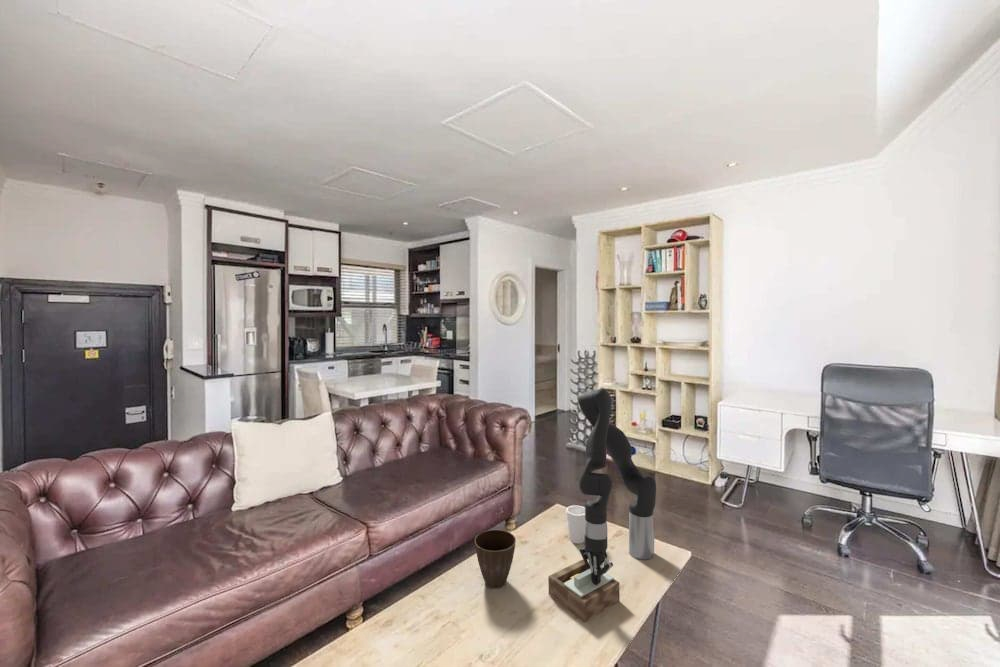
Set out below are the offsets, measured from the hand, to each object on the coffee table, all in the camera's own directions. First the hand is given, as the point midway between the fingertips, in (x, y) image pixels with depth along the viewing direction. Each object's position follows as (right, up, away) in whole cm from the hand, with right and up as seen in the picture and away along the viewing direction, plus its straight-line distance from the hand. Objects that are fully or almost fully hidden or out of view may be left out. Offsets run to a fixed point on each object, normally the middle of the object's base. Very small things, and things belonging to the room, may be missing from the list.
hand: (596, 583), depth 144 cm
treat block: (-5, -7, +7) cm, 11 cm away
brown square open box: (-3, -8, +5) cm, 10 cm away
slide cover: (-2, -1, +3) cm, 3 cm away
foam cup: (+1, -6, +42) cm, 43 cm away
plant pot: (-34, -8, +14) cm, 37 cm away
